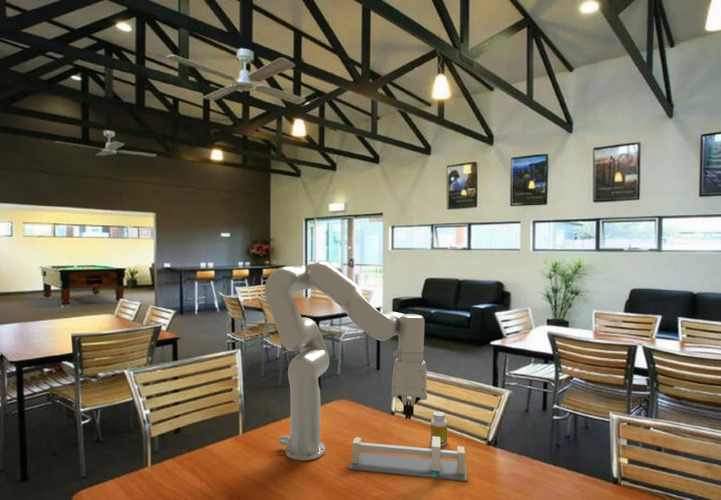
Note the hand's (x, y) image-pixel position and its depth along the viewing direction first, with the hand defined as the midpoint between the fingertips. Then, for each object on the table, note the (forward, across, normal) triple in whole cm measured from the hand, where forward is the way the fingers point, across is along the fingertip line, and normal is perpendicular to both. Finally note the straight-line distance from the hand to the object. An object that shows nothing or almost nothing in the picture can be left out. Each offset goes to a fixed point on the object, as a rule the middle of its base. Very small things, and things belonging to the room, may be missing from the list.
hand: (408, 417), depth 126 cm
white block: (+13, +9, 0) cm, 16 cm away
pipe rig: (+15, 0, 0) cm, 15 cm away
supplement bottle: (+15, +9, +18) cm, 25 cm away
